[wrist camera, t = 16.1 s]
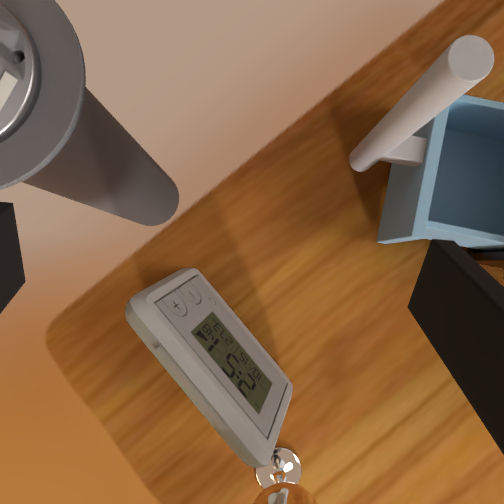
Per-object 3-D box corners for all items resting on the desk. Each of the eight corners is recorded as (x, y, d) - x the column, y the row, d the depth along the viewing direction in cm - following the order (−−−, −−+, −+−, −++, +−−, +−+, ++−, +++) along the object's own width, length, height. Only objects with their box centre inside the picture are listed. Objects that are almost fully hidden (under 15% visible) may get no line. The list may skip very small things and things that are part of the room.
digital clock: (299, 396, 40) (316, 443, 30) (217, 440, 40) (205, 504, 30) (220, 249, 41) (209, 244, 30) (138, 292, 41) (99, 303, 30)
